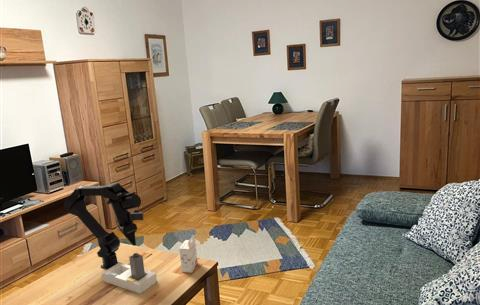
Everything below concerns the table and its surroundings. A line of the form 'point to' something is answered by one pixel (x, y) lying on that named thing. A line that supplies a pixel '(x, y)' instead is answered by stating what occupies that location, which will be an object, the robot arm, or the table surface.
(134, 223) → the robot arm
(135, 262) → the plug
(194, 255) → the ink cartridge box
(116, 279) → the socket block
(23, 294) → the table surface
